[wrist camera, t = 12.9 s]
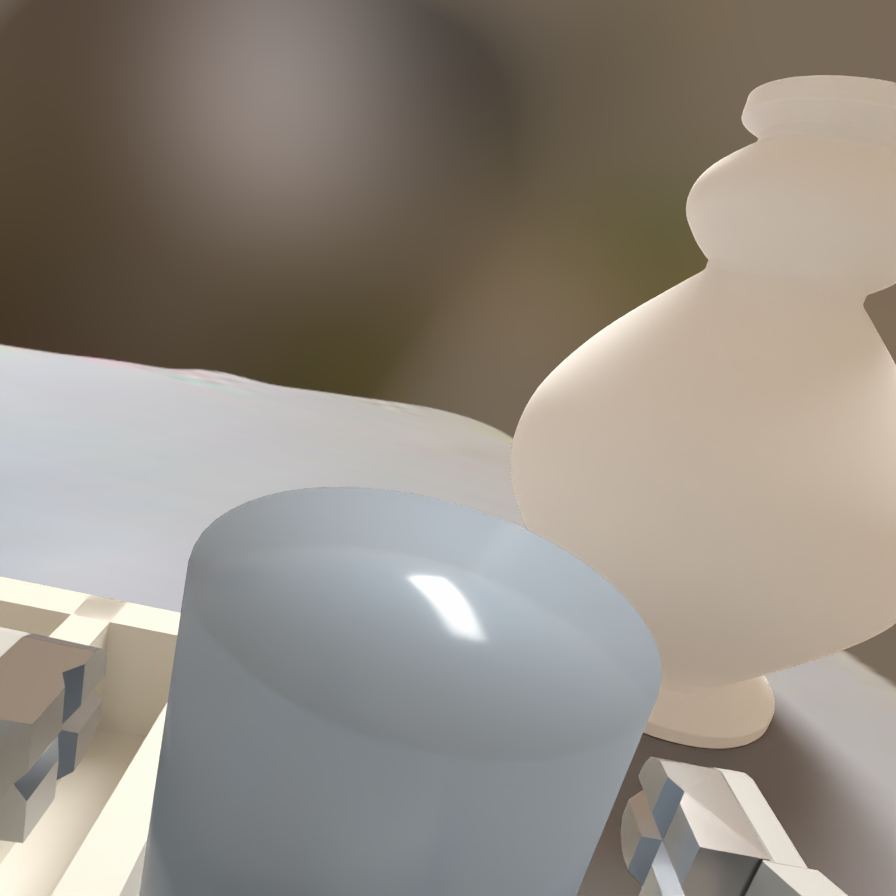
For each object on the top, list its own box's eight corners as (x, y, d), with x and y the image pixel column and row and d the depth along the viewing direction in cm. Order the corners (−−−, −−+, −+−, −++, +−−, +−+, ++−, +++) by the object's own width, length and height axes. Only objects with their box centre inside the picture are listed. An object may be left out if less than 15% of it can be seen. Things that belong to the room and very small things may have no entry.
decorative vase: (932, 846, 23) (1367, 127, 17) (470, 748, 22) (729, -68, 15) (729, 600, 40) (902, 196, 34) (462, 537, 39) (583, 105, 32)
